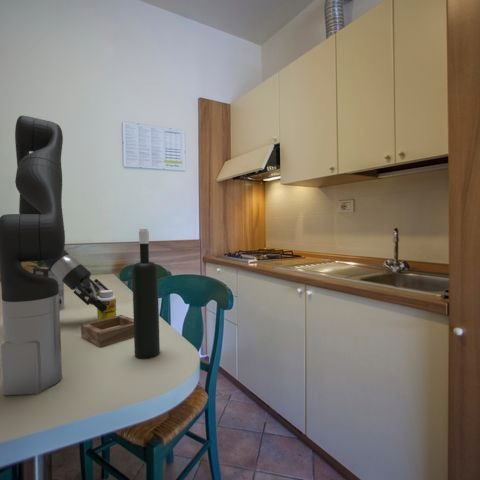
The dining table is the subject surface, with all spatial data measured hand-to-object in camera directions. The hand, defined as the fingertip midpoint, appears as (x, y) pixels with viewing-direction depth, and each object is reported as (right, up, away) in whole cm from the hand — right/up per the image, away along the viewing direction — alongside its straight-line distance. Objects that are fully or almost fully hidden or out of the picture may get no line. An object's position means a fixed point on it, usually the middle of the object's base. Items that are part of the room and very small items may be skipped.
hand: (109, 306), depth 100 cm
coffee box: (-30, -5, +17) cm, 35 cm away
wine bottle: (+20, -6, -26) cm, 33 cm away
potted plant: (-55, -4, +53) cm, 77 cm away
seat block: (+6, -5, -12) cm, 15 cm away
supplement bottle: (-1, -5, 0) cm, 5 cm away
